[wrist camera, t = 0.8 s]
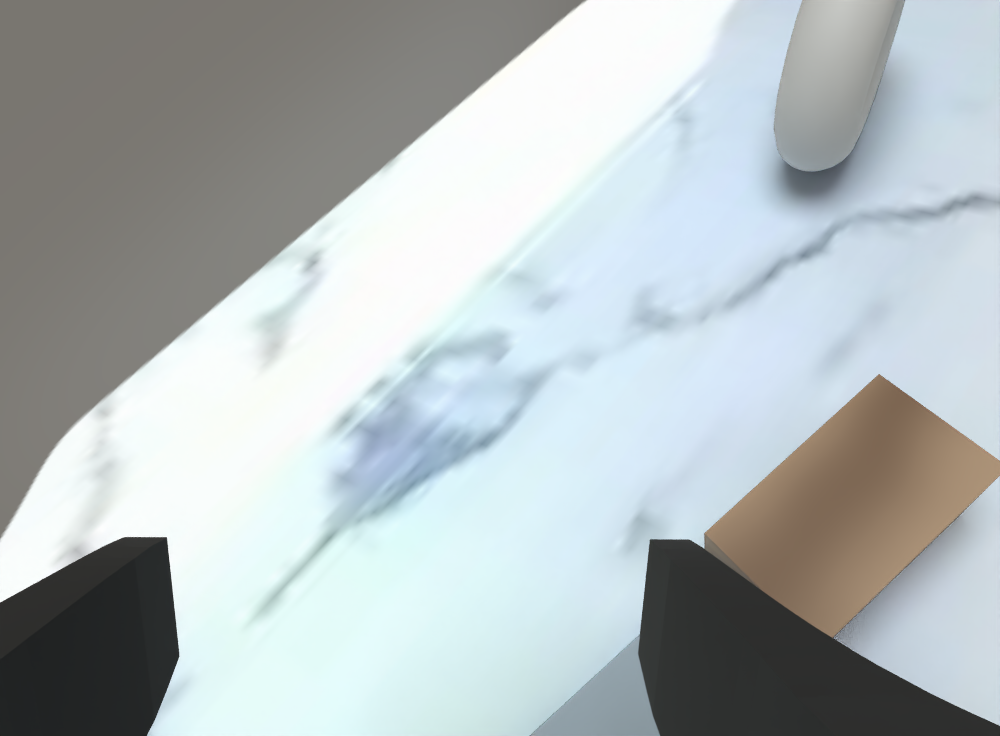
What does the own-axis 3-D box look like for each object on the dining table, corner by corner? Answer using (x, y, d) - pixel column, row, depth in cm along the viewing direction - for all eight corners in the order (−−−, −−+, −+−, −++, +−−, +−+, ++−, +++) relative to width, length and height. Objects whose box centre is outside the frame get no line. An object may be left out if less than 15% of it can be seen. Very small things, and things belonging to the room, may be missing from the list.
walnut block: (959, 515, 26) (1008, 467, 22) (801, 668, 25) (820, 648, 21) (853, 432, 28) (879, 374, 24) (705, 569, 27) (704, 532, 23)
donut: (832, 225, 33) (876, 36, 24) (755, 210, 34) (771, 26, 26) (891, 71, 36) (947, -142, 28) (818, 63, 38) (851, -143, 29)
